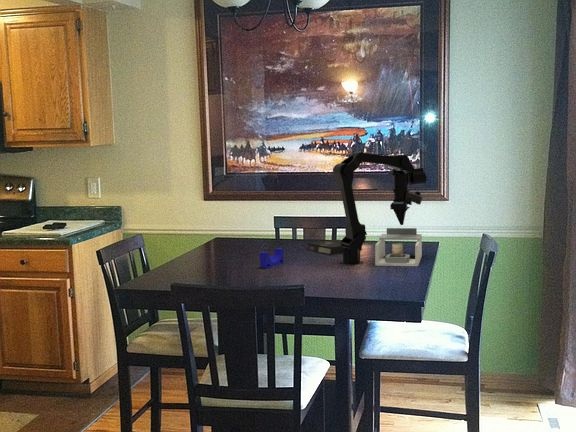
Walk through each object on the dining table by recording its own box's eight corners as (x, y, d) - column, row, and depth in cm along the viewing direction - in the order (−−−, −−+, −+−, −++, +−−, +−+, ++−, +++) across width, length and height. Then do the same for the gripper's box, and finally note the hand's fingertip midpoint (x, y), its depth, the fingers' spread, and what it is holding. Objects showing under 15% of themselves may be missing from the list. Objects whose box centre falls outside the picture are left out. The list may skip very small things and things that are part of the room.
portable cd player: (307, 252, 309) (307, 243, 308) (338, 248, 318) (338, 239, 318) (330, 257, 295) (329, 247, 295) (361, 252, 304) (361, 243, 304)
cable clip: (274, 262, 283) (273, 247, 283) (283, 263, 281) (283, 248, 280) (257, 267, 273) (256, 252, 273) (266, 268, 271) (266, 253, 270)
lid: (419, 239, 277) (419, 231, 277) (379, 239, 281) (378, 231, 281) (421, 236, 288) (421, 228, 287) (382, 235, 292) (382, 228, 291)
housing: (417, 266, 266) (417, 245, 265) (375, 265, 270) (375, 245, 269) (421, 255, 289) (421, 236, 288) (382, 255, 293) (382, 236, 292)
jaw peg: (398, 262, 270) (398, 245, 269) (390, 261, 273) (390, 244, 272) (405, 260, 273) (404, 244, 272) (397, 259, 276) (396, 243, 275)
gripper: (418, 187, 271) (419, 228, 273) (423, 183, 289) (424, 221, 290) (389, 188, 274) (390, 228, 276) (396, 184, 292) (397, 222, 293)
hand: (401, 224), depth 284 cm, fingers closed
